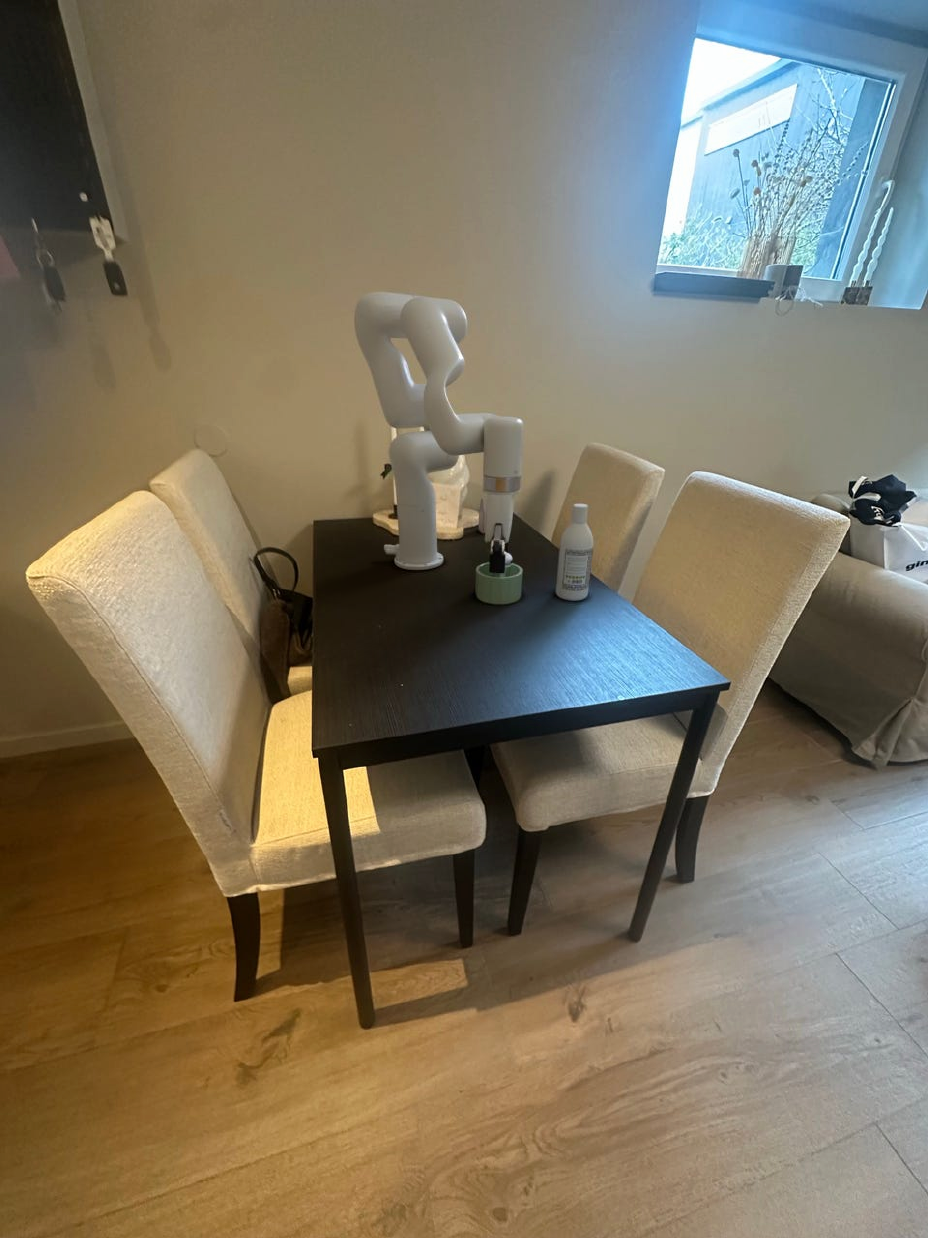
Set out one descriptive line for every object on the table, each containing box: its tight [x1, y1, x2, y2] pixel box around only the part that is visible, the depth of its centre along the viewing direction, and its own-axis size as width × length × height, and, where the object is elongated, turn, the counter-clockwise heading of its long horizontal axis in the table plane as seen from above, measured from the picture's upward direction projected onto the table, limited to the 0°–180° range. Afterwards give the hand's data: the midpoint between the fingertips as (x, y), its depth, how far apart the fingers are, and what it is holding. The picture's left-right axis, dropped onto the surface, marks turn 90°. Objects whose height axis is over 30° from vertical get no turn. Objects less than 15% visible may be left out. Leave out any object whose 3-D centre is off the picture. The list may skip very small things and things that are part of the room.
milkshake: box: [487, 550, 513, 577], centre depth 108 cm, size 4×5×10 cm
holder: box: [475, 561, 524, 605], centre depth 109 cm, size 10×10×6 cm
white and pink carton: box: [478, 498, 487, 534], centre depth 151 cm, size 4×7×10 cm, turn 109°
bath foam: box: [555, 503, 595, 602], centre depth 105 cm, size 7×7×20 cm
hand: (498, 564), depth 107 cm, fingers open, 9 cm apart
